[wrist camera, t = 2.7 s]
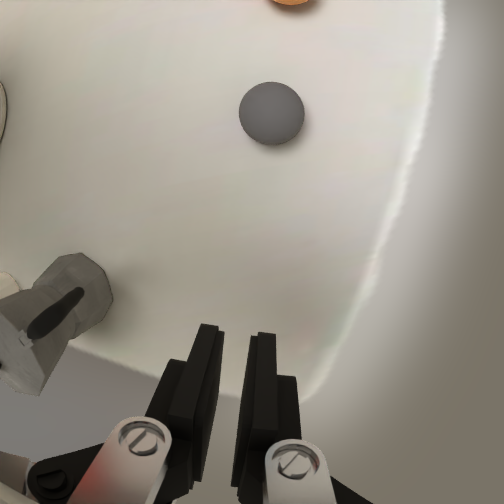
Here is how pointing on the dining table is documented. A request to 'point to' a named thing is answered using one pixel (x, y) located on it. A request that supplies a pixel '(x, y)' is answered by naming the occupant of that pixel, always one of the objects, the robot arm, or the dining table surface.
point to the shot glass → (7, 285)
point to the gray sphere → (271, 113)
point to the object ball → (291, 2)
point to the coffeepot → (49, 320)
